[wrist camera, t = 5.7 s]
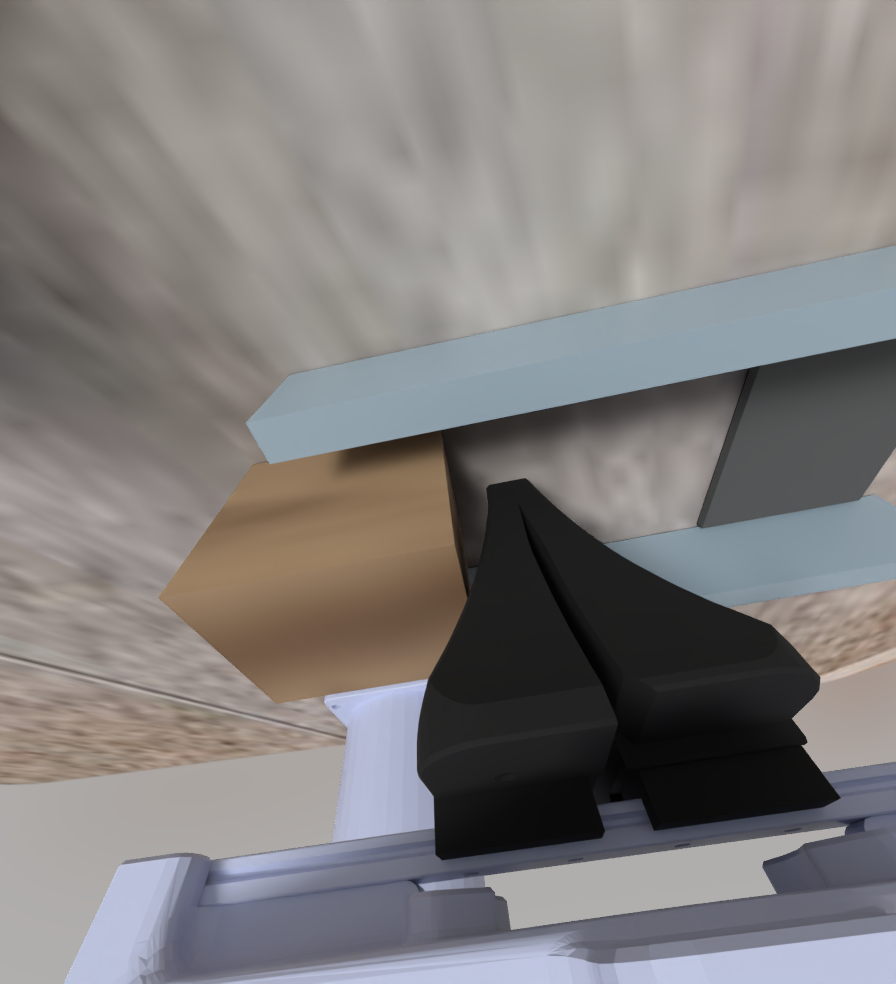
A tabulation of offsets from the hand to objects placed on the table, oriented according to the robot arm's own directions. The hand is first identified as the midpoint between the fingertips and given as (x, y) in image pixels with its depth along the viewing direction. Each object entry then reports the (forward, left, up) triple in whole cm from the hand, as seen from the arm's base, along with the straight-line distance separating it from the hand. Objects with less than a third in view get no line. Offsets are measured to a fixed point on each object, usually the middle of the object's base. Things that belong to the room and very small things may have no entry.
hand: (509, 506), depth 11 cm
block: (0, +5, -1) cm, 5 cm away
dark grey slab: (0, -11, -1) cm, 11 cm away
